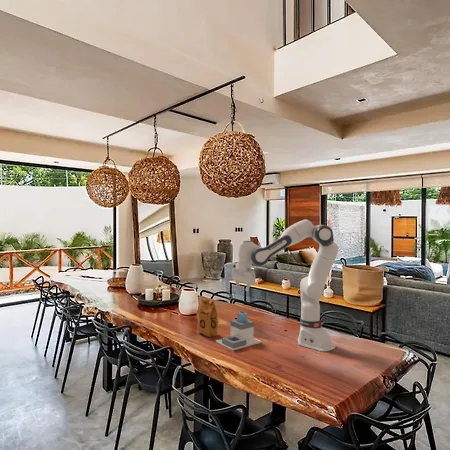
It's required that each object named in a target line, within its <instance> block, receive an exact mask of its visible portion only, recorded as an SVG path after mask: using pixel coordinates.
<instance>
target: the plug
mask: <svg viewBox="0 0 450 450" xmlns="http://www.w3.org/2000/svg"><path fill="white" fill-rule="evenodd" d="M247 320H248V313H247V312H245V311H243V310H240V312H237V322H240V323H245V322H247Z"/></svg>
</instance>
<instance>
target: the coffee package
mask: <svg viewBox="0 0 450 450" xmlns="http://www.w3.org/2000/svg"><path fill="white" fill-rule="evenodd" d="M197 312H198V316H197V317H198V318H197V319H198V320H197V321H198V322H197V332H198V333H200V334H202V335H203V336H206V337H209V338H211V337H215V336H218V326H219V323H218V312H217V308H216V304H215V302H214V300H210V299H207V298H201V303H200V306H199V309H198V311H197Z"/></svg>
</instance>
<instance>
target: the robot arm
mask: <svg viewBox="0 0 450 450" xmlns="http://www.w3.org/2000/svg"><path fill="white" fill-rule="evenodd" d="M307 238H309V239H311V240H313V242H315V243H317V244H319V248H318V251H317V253H316V255H315V256H314V259H313V261H312V263H311V265H310V269H309V273H308V276H305V277H303V278H301V280H300V283H299V285H300V286H299V289H300V303H301V304H300V305H301V306H300V308H301V309H300V319H299V325H300V327H299V335H298V338H297V342H298V343H297V344H298V346H301V347H305V348H308V349H312V350H315V351H317V352H318V351H319V352H330V351H333V350H334V349H336V345H335V344H334V343H332V337H331V335H330V333H328V332H327V330H325V329H324V327H323V324H324V321H323V322H322V321H321V319H320V318H321V306H320V298H321V297H322V296H323V295H324V291H325V286H326V282H327V279H328V277H329V274H330V271H331V269H332V267H333V265H334V263H335V261H336V258H337V256H338V252H339V245H338V244H337V243H336V242H334V232H333V229H332V228H331V227H330V226H329V225H326V224H317V225H314V224H313V223H312V221H311V220H309V219H307V218H306V219H302V220H300V221H297V222H295V223H293V224H292V225H290V226H289V227H287V228H286V229H285V230H283V231H282V233H281V234H280V236H279V237H278V239H276V240H274V241H273V242H272V243H269V244H268V245H267V246H265V247H262V246H259V245H258V244H256V243H254V242H253V241H252V240H244V241H241V242H240V243H239V245H238V251H237V256H238V258H237V263H234V264H232V270H231V278H232V280H234V281H235V284H236V288H237V289H240V288H241V285H240V283H243V284H246V287H245V289H244V290H245V292H249V291H250V287H251V286H254V285H255V284H256V272H255V270H254V269H252V264H254V265H256V266H259V267H261V266H263V265H264V266H265V265H266V264H267V263H268V262H269V260H270V259H271V257H272V256H274V255H276V254H277V253H279V252H280V251H282V250H284V249H286V248H288V247H292V246H294V245H296V244H298V243H300V242H302V241H304V240H305V239H307Z"/></svg>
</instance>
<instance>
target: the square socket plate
mask: <svg viewBox="0 0 450 450" xmlns="http://www.w3.org/2000/svg"><path fill="white" fill-rule="evenodd" d="M254 325H255V322H254V321H252V320H249V319H247V322H245V323H240V322H237V319H232V320H230V327H229V328H230V329H229V330H230V331H229V332H230V333H229V336H225V337H222V338H221V339H220V338H219V339H216V340H215V342H216V343H218V344H220V345H221V346H223V347H225V348H227V349H229V350H231V351H235V350H239V349H243V348H247V347H250V346H253V345H257V344H261V343H262V340H260V339H257V338H255V337H254V328H255V327H254Z"/></svg>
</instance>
